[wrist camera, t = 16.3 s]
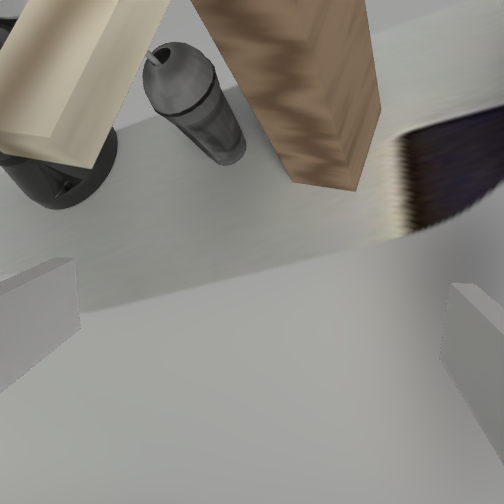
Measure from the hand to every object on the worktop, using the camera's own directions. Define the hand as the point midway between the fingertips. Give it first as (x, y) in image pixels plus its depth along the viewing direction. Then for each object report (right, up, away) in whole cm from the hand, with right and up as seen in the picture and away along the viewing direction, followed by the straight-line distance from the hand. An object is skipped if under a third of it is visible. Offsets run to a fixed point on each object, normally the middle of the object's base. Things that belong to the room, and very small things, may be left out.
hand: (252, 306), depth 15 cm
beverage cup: (-3, +14, +38) cm, 40 cm away
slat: (-5, +15, +4) cm, 16 cm away
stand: (+9, +13, +32) cm, 36 cm away
